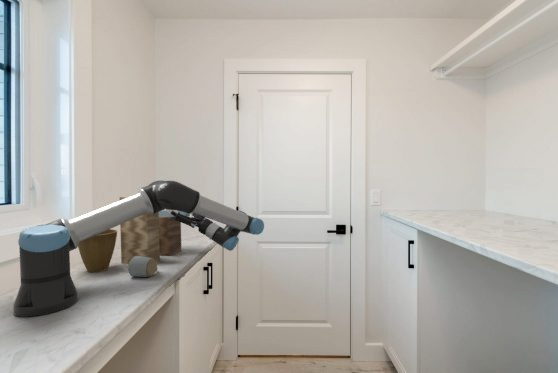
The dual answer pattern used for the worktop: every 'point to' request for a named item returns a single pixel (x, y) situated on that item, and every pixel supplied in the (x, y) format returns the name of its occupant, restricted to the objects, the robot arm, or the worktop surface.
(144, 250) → the stand
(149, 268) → the grey short cylinder
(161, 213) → the blue-grey block
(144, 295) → the worktop surface
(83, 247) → the plant pot
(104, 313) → the worktop surface
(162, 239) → the wooden block with pegs
